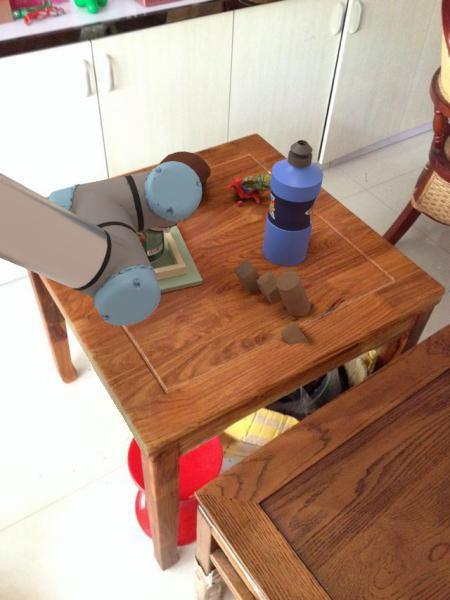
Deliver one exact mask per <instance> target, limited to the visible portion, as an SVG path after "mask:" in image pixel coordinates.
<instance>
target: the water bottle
mask: <svg viewBox="0 0 450 600" xmlns="http://www.w3.org/2000/svg"><path fill="white" fill-rule="evenodd" d="M312 160H313V147H312V146H311V145H310V143H309V142H308V141H306V140H304V139H299V140H297V141H296V142H294V143H292V144H291V145H290V150H288V155H287V158H285V159H281V160H279V161H276V163H274V165H273V166H272V168H271V172H270V174H271V180H270V188H271V190H270V204H269V208H268V210H267V213H266V220H265V226H264V235H263V242H262V254H263V256H264V258H265V259H266V260H267V261H268V262H270V263H272V264H273V265H276V266H280V267H294V266H298V265H300V264H301V263H303V262H304V261H305V259H306V258H307V252H308V249H309V248H308V247H309V245H310V244H309V243H310V238H311V235H312V229H313V224H314V208H315V205H316V203H317V199H318V198H319V197H318V196H319V195H320V194H321V188H322V184H323V181H324V180H323V179H324V172H323V170H322V169H321V167H320V166H318V165H317V164H316V163H314V162H312Z"/></svg>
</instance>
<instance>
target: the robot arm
mask: <svg viewBox="0 0 450 600" xmlns="http://www.w3.org/2000/svg"><path fill="white" fill-rule="evenodd" d="M159 164H160V163H159ZM159 164H157V166H156V167H153V168H152V169H151V170H147V171H143V172H138V173H132V174H129V175H125V176H119V177H113V178H108V179H101V180H97V181H91V182H85V183H77V184H74V185H72V186H68V187H65V188H60V189H57V190H54V191H52V192H50V194H49V196H48V198H47V197H45V196H43V195H42V194H40V193H38V192H36V191H34V190H33V189H31V188H29V187H28V186H25V185H23V184H21V183H20V182H18V181H16V180H15V179H13V178H11V177H9V176H7V175H6V174H4V173H2V172H0V259H2V260H4V261H7V262H9V263H11V264H13V265H16V266H19V267H21V268H24V269H26V270H28V271H30V272H32V273H34V274H38V275H40V276H41V277H44V278H47V279H49V280H51V281H54V282H56V283H58V284H61V285H63V286H66V287H68V288H70V289H73V290H75V291H77V292H78V293H81V294H83V295H86V296H88V297H90V298H91V299H92V300H93V303H92V304H93V307H94V308H95V309H96V310H97V312H98V315H99V316H100V318H101V319H102V320H103V321H105V322H106V323H108V324H110V325H112V326H117V327H118V326H119V327H121V326H122V327H126V326H132V325H136V324H138V323H141V322H143V321H144V320H146V319H147V318H148V317H150V315H152V314H153V313H154V312H155V311H156V310H157V309H158V307H159V304H160V302H161V298H162V297H161V296H162V293H161V292H160V288H159V285H158V282H157V279H156V272H155V270H154V269H153V268H152V266H151V264H150V262H149V260H148V257H147V255H146V253H145V251H144V248H143V246H142V244H141V241H140V239H139V237H138V234H137V232H139V231H144V232H147V233H150V234H160V233H163V232H164V233H169V232H170V228H172V227H173V226H177V227H178V224H179V223H181V222H183V221H186V220H188V219H189V218H191V216H192V215H193V214H195V212H196V210H197V208H198V207H199V205H200V203H201V202H202V199H201V197H202V184H201V182H200V179H199V177H198V176H197V174H196V173H195V172H194V170H193V169H191V168H190V167H189V166H187V165H186V164H183V163H181V162H176V161H170V162H165V163H162V164H160V165H159ZM202 198H203V197H202ZM200 201H201V202H200Z"/></svg>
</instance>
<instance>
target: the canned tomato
mask: <svg viewBox="0 0 450 600" xmlns="http://www.w3.org/2000/svg"><path fill="white" fill-rule="evenodd" d="M137 234H138V237H139V239H140V241H141V244H142V246H143V248H144V251H145V253H146V255H147V257H148V260H149V262H150V264H151V263H154V262H156V261H158V260H159V259H161V258H162V256H163V255H164V252H165V248H164V232H163V233H160V234H150V233H147V232H144V231H139V232H137Z"/></svg>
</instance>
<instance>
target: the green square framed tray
mask: <svg viewBox="0 0 450 600" xmlns="http://www.w3.org/2000/svg"><path fill="white" fill-rule="evenodd" d="M164 248H165V252H164V255H163V256H162V258H161V259H159V260H158V261H156V262H154V263H151V266H152V268H153V269H154V270H155V272H156V279H157V282H158V285H159V288H160V292H161V294H164V293H167V292H168V293H169V292H173V291H177V290H181V289H186V288H191V287H196V286H199V285H200V286H201V285H203V284H204V283H203V278H202V276H201V273H200V272H199V270H198V267H197V265H196V263H195V261H194V259H193V256H192V254H191V252H190V250H189V248H188V246H187V244H186V242H185V240H184V238H183V236H182V234H181V232H180V230H179V228H178V225H177V226H173V227H172V228H170V232H169V233H164Z"/></svg>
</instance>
